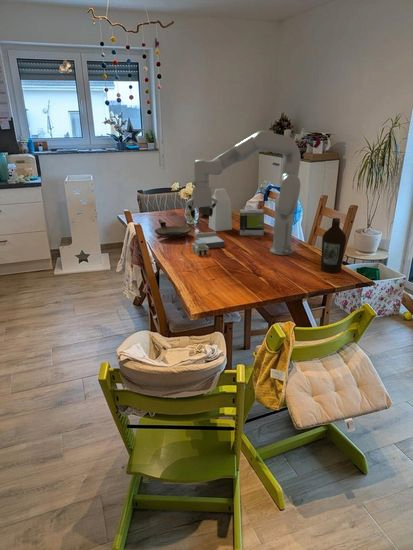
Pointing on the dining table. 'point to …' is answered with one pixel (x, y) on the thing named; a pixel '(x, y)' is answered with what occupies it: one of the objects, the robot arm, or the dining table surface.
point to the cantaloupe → (204, 210)
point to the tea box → (251, 222)
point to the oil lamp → (171, 230)
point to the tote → (200, 243)
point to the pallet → (200, 249)
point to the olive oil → (333, 248)
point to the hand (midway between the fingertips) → (201, 216)
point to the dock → (211, 239)
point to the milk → (221, 212)
